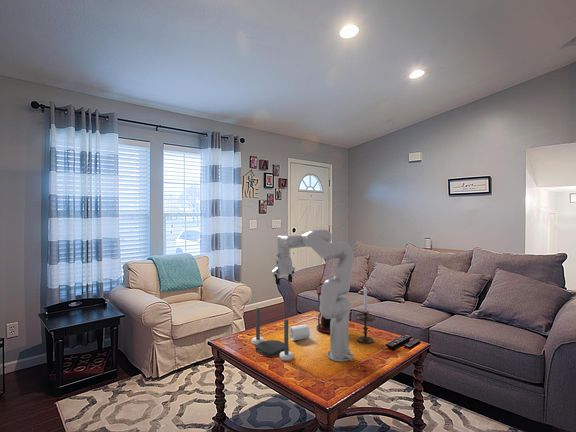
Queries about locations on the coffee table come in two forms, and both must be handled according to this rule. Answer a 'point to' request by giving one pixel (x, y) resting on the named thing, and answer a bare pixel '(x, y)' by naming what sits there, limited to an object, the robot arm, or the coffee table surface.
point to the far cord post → (257, 329)
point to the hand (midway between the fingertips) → (284, 283)
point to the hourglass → (322, 319)
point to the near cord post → (286, 344)
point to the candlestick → (365, 321)
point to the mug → (299, 332)
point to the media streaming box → (270, 348)
